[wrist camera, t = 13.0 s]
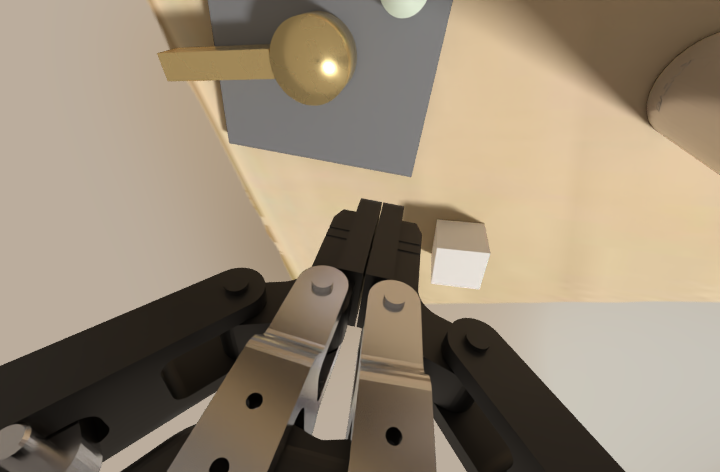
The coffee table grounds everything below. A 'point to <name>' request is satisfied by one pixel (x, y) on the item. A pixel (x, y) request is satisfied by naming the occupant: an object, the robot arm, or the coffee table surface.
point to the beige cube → (459, 254)
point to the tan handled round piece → (278, 59)
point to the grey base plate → (357, 99)
